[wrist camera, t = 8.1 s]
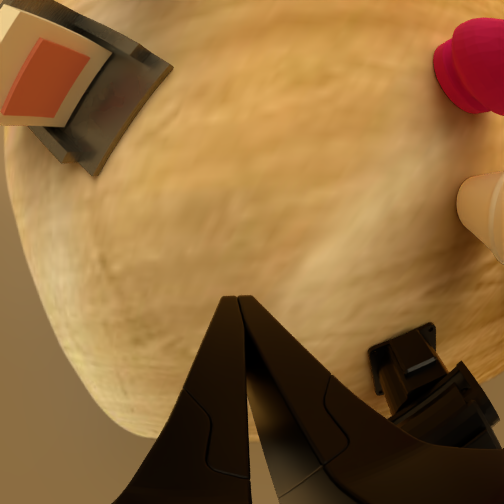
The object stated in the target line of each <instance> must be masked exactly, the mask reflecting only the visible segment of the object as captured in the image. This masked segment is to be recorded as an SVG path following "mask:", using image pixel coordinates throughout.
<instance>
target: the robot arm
mask: <svg viewBox="0 0 504 504" xmlns="http://www.w3.org/2000/svg"><path fill="white" fill-rule="evenodd" d="M429 328H430V329H429ZM374 351H376V352H374ZM373 352H374V353H373ZM368 354H369V359H370V365H371V370H372V375H373V381H374V387H375V392H376V394H377V395H383V394H384V395H385V398H386V400H387V403H388V406H389V409H390V412H391V415H392V416H391V417H390V418H388V419H386V418H385V417H383V416H382V415H381V414H379V413H378V412H376V411H375V410H374V409H372V408H371V407H370V406H368V405H367V404H366V403H364V402H363V401H362V400H361V399H359V398H358V397H357V396H356V395H354V394H353V393H352V392H351V391H350V390H349V389H348V388H347V387H345V386H344V385H343V384H342V383H341V382H340V381H339V380H338V379H337V378H336V377H335V376H334V375H331V373H330V372H329V371H328V370H327V369H326V368H325V367H324V366H323V365H322V364H321V363H320V362H319V361H318V360H317V359H316V358H315V357H314V356H313V355H312V354H311V353H310V352H309V351H307V350H306V349H305V348H304V347H303V346H302V345H301V344H300V343H299V342H298V341H297V340H296V339H295V338H294V337H293V336H292V335H291V334H290V333H289V332H288V331H287V330H286V329H285V328H284V327H283V326H282V325H281V324H280V323H279V322H278V321H277V320H276V319H275V318H274V317H273V316H272V315H271V314H270V313H269V312H268V311H267V310H266V309H265V308H264V307H263V306H262V305H261V304H260V303H259V302H258V301H257V300H256V299H255V298H254V297H253V296H252V295H241V296H238V297H236V296H223V297H221V299H220V301H219V304H218V306H217V308H216V311H215V313H214V315H213V318H212V320H211V322H210V325H209V327H208V329H207V332H206V334H205V336H204V338H203V341H202V343H201V345H200V348H199V350H198V352H197V355H196V357H195V360H194V362H193V364H192V367H191V369H190V371H189V374H188V376H187V378H186V381H185V383H184V385H183V389H182V390H181V392H180V394H179V397H178V399H177V401H176V404H175V406H174V408H173V410H172V412H171V414H170V416H169V419H168V421H167V422H166V424H165V426H164V428H163V430H162V431H161V433H160V435H159V437H158V438H157V440H156V442H155V443H154V445H153V447H152V448H151V450H150V451H149V453H148V454H147V456H146V458H145V460H144V461H143V462H142V464H141V466H140V467H139V469H138V471H137V472H136V474H135V475H134V477H133V478H132V480H131V481H130V483H129V484H128V486H127V487H126V488H125V490H124V491H123V492H122V493H121V494H120V496H119V497H118V498H117V499H116V500H115V501H114V502H113V503H112V504H252V497H251V482H250V458H249V434H248V409H247V396H248V399H249V403H250V407H251V410H252V414H253V418H254V421H255V425H256V428H257V432H258V435H259V439H260V442H261V445H262V449H263V452H264V455H265V459H266V462H267V465H268V469H269V472H270V475H271V478H272V481H273V484H274V488H275V491H276V494H277V497H278V498H279V499H278V500H279V503H280V504H504V448H503V449H502V448H501V446H500V443H499V441H498V440H497V437H496V436H495V433H494V431H493V430H492V427H493V426H495V425H496V424H497V423H498V422H499V421H500V419H499V416H498V414H497V412H496V411H495V409H494V407H493V405H492V404H491V402H490V400H489V399H488V397H487V396H486V394H485V392H484V391H483V389H482V388H481V386H480V385H479V384H478V382H477V381H476V379H475V378H474V377H473V375H472V374H471V372H470V371H469V370H468V368H467V367H466V366H465V364H464V363H463V362H462V360H461V361H460V362H459V363H458V364H457V365H456V367H455V368H454V369H453V370H452V371H451V372H449V371H448V370H447V368H446V367H445V365H444V364H443V362H442V361H441V359H440V358H439V356H438V355H437V353H436V327H435V325H434V324H433V323H432V322H430V323H428V324H425V325H423V326H421V327H419V328H417V329H414V330H412V331H410V332H408V333H405V334H403V335H401V336H398V337H396V338H393V339H391V340H388V341H386V342H383V343H381V344H378V345H376V346H373V347H371V348H370V349H369V351H368ZM330 375H331V376H330Z"/></svg>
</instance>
